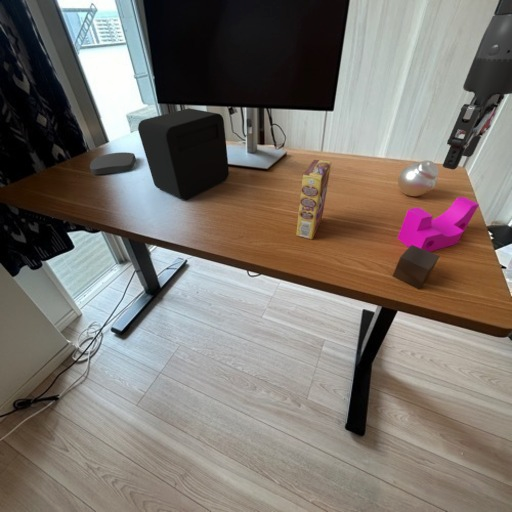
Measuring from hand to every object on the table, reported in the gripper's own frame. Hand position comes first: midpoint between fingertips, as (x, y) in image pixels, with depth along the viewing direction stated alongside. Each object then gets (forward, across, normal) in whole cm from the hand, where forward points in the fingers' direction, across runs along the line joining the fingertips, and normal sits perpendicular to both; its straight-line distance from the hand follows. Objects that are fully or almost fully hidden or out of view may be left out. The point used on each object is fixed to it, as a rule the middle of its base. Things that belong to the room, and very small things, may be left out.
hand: (457, 161), depth 51 cm
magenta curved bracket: (+17, 0, -2) cm, 18 cm away
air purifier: (+17, -22, +63) cm, 69 cm away
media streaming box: (+17, -34, +98) cm, 105 cm away
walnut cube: (+17, -15, -4) cm, 23 cm away
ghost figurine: (+17, +17, +10) cm, 27 cm away
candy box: (+17, -16, +20) cm, 31 cm away
